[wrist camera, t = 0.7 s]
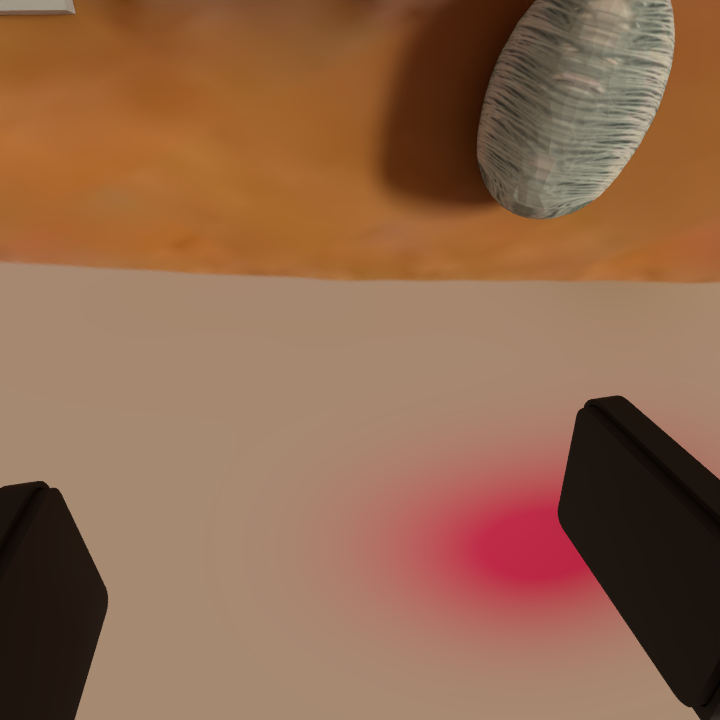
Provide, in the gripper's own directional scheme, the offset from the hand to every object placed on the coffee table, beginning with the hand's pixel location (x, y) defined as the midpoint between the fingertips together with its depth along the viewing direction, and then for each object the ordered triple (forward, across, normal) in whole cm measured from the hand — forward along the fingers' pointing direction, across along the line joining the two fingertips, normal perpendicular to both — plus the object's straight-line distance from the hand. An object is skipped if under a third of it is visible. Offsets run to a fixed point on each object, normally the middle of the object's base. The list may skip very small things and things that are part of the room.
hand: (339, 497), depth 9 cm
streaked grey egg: (+28, -17, -5) cm, 33 cm away
